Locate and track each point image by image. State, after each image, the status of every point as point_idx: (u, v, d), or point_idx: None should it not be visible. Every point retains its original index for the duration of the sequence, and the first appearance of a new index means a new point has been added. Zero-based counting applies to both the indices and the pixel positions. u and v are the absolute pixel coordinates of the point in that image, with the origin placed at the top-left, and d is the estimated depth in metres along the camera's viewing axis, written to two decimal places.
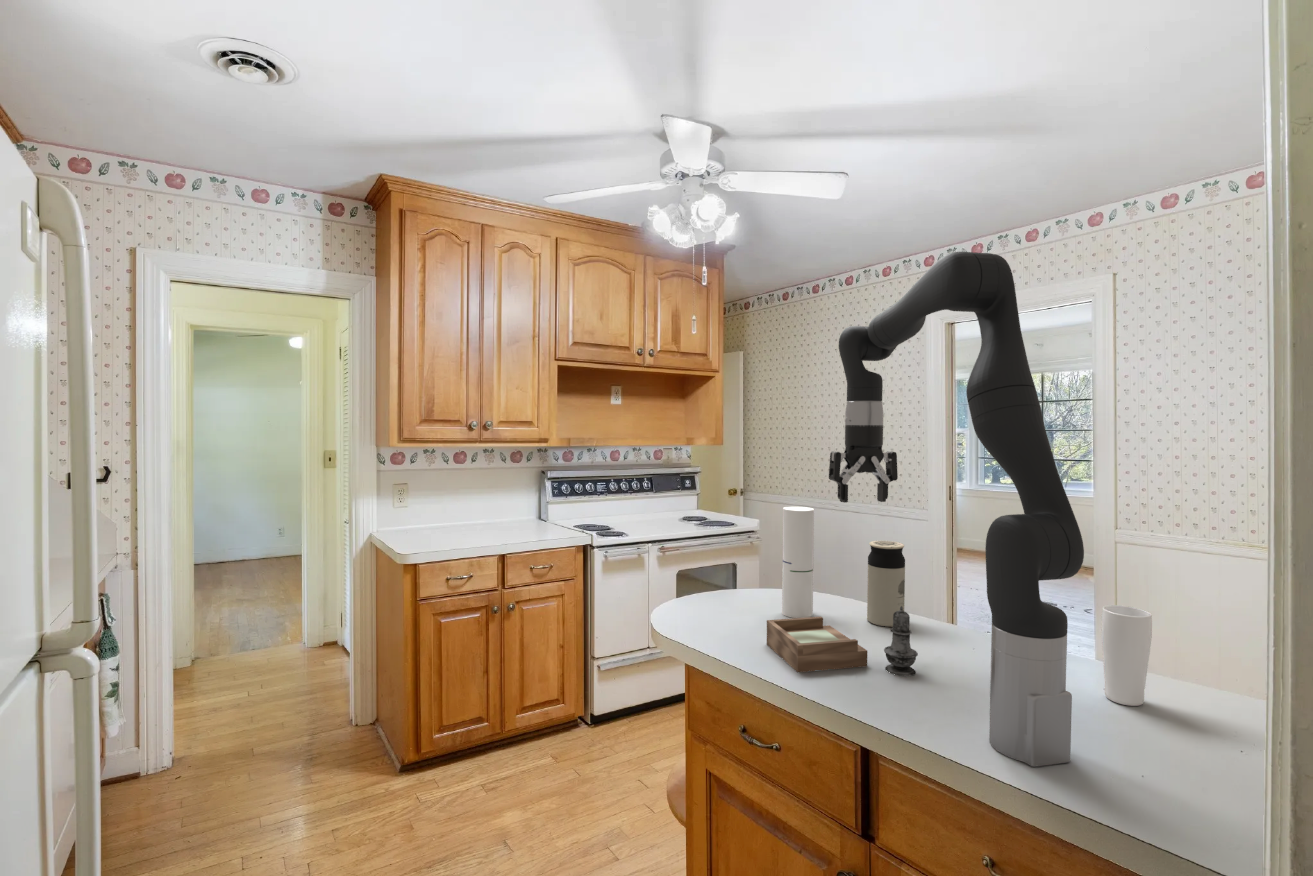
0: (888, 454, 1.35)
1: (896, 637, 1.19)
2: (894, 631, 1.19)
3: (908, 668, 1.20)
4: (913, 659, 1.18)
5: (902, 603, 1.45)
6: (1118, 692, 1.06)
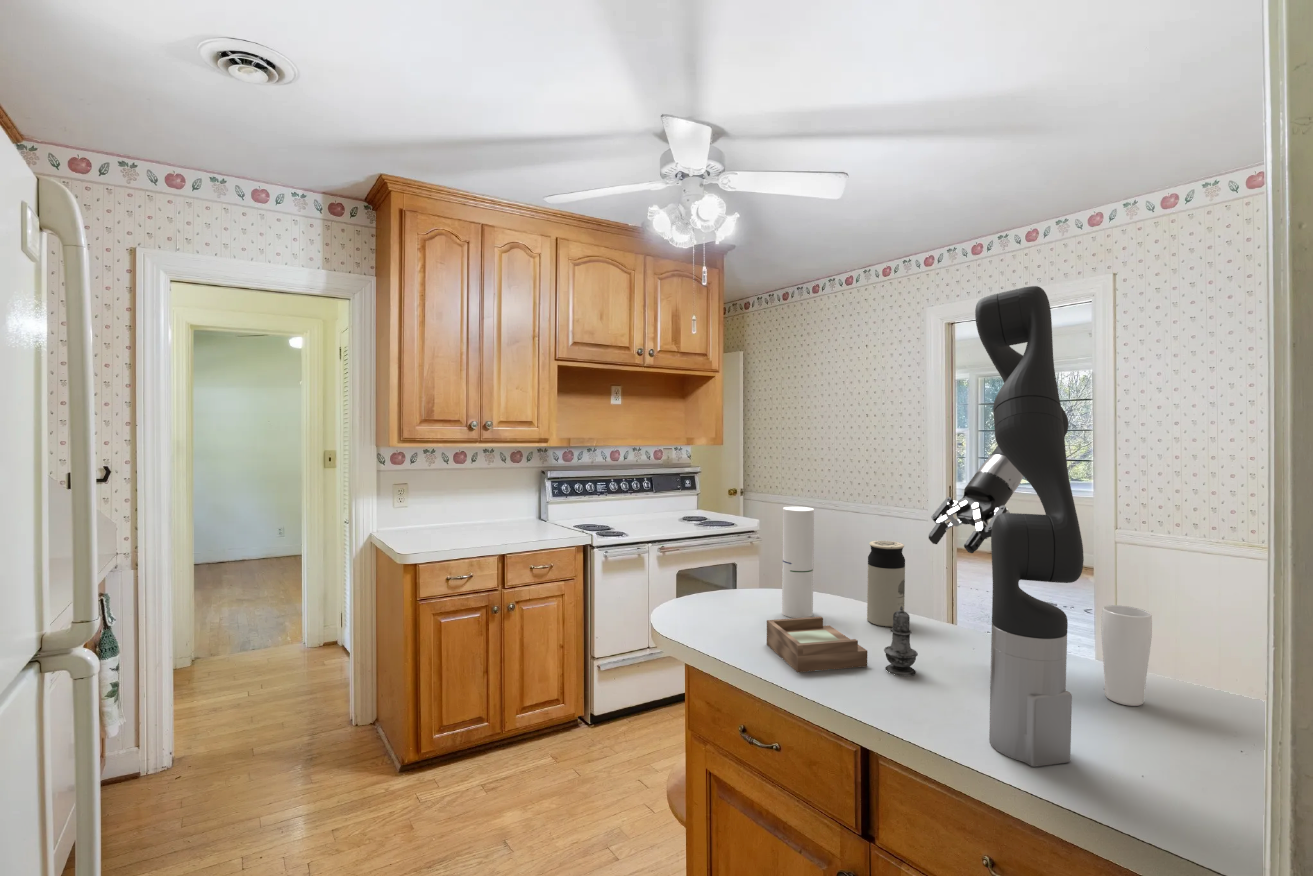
0: None
1: (896, 637, 1.19)
2: (894, 631, 1.19)
3: (908, 668, 1.20)
4: (913, 659, 1.18)
5: (902, 603, 1.45)
6: (1118, 692, 1.06)
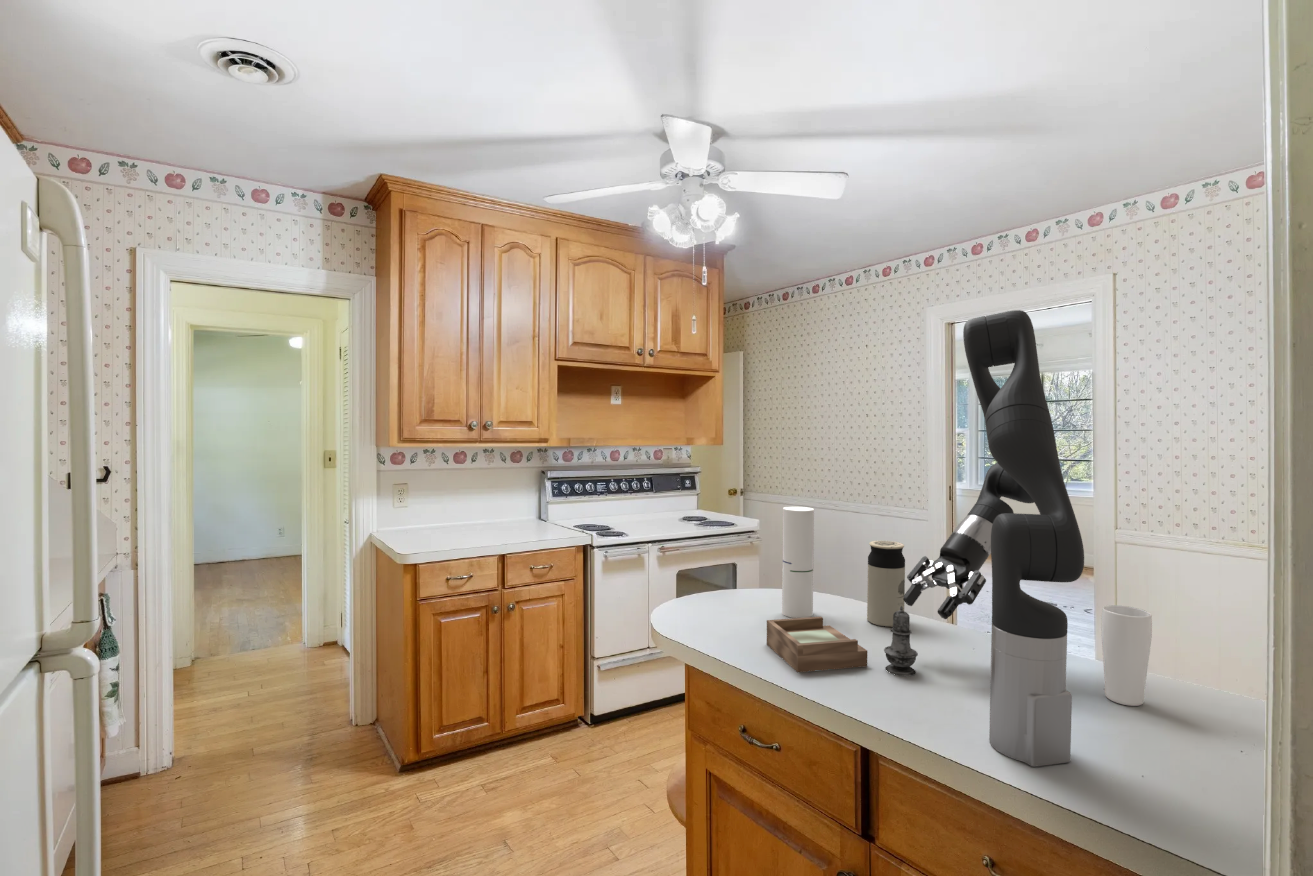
0: None
1: (896, 637, 1.19)
2: (894, 631, 1.19)
3: (908, 668, 1.20)
4: (913, 659, 1.18)
5: (902, 603, 1.45)
6: (1118, 692, 1.06)
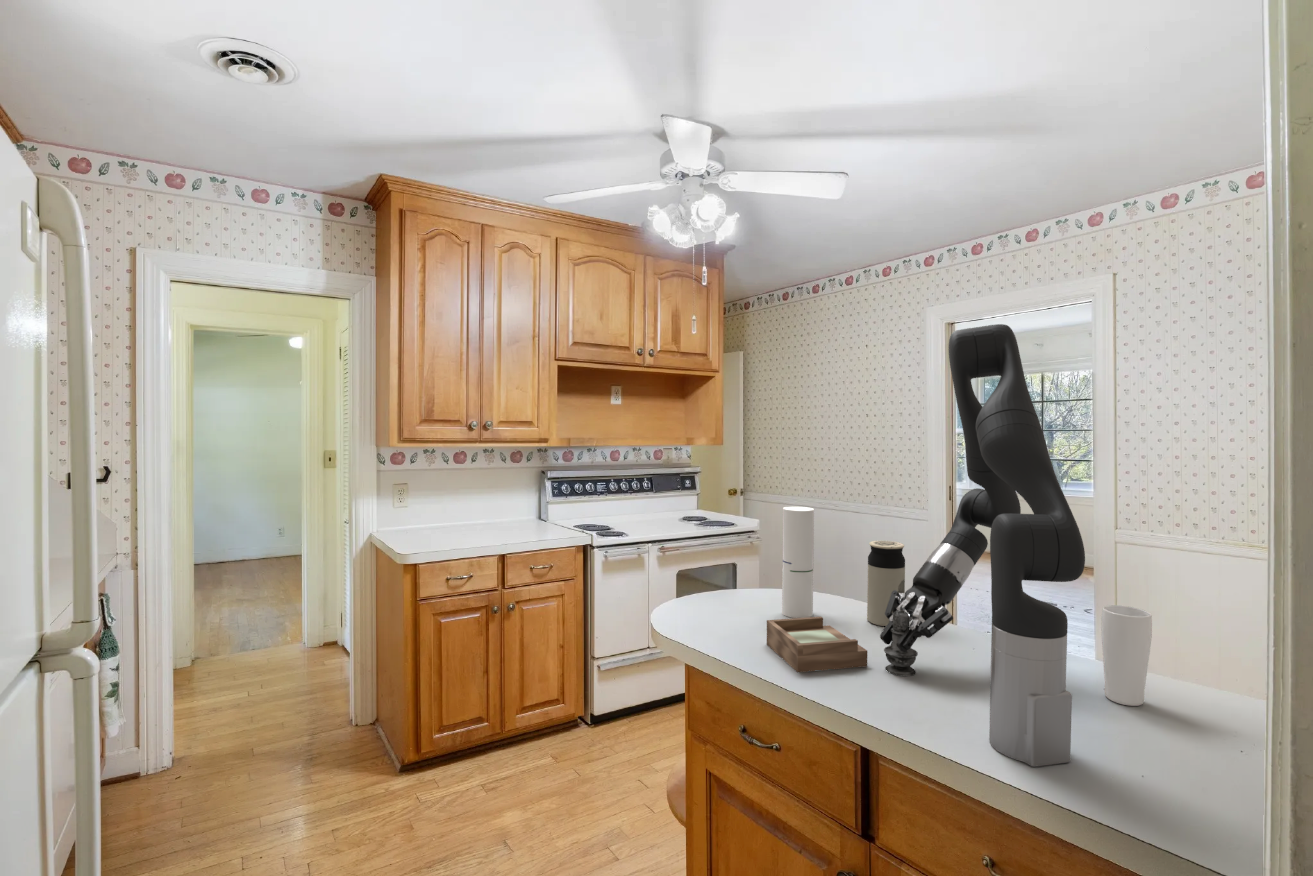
0: None
1: (896, 637, 1.19)
2: (894, 631, 1.19)
3: (908, 668, 1.20)
4: (913, 659, 1.18)
5: None
6: (1118, 692, 1.06)
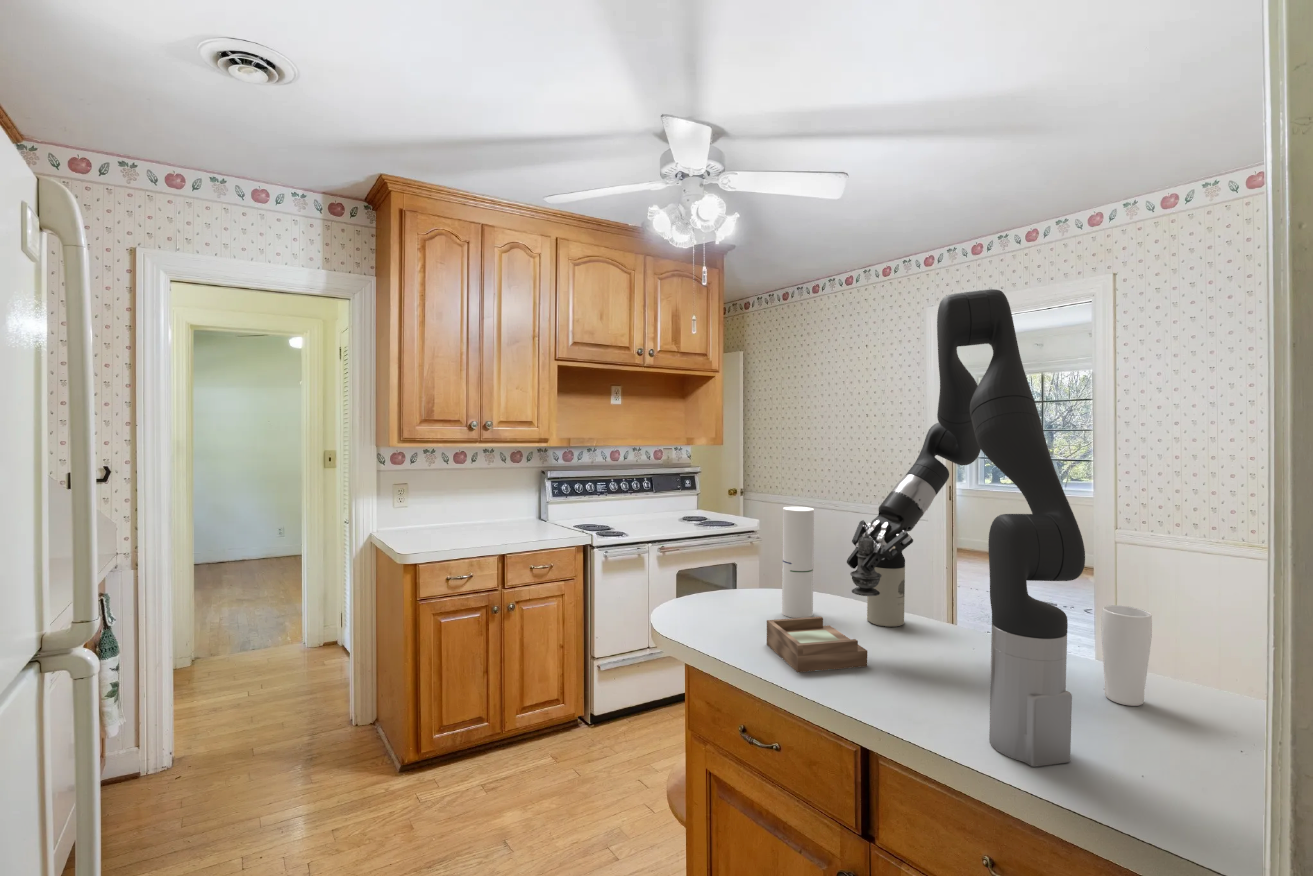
0: None
1: (861, 560, 1.27)
2: (859, 555, 1.27)
3: (873, 590, 1.28)
4: (877, 580, 1.26)
5: (902, 603, 1.45)
6: (1118, 692, 1.06)
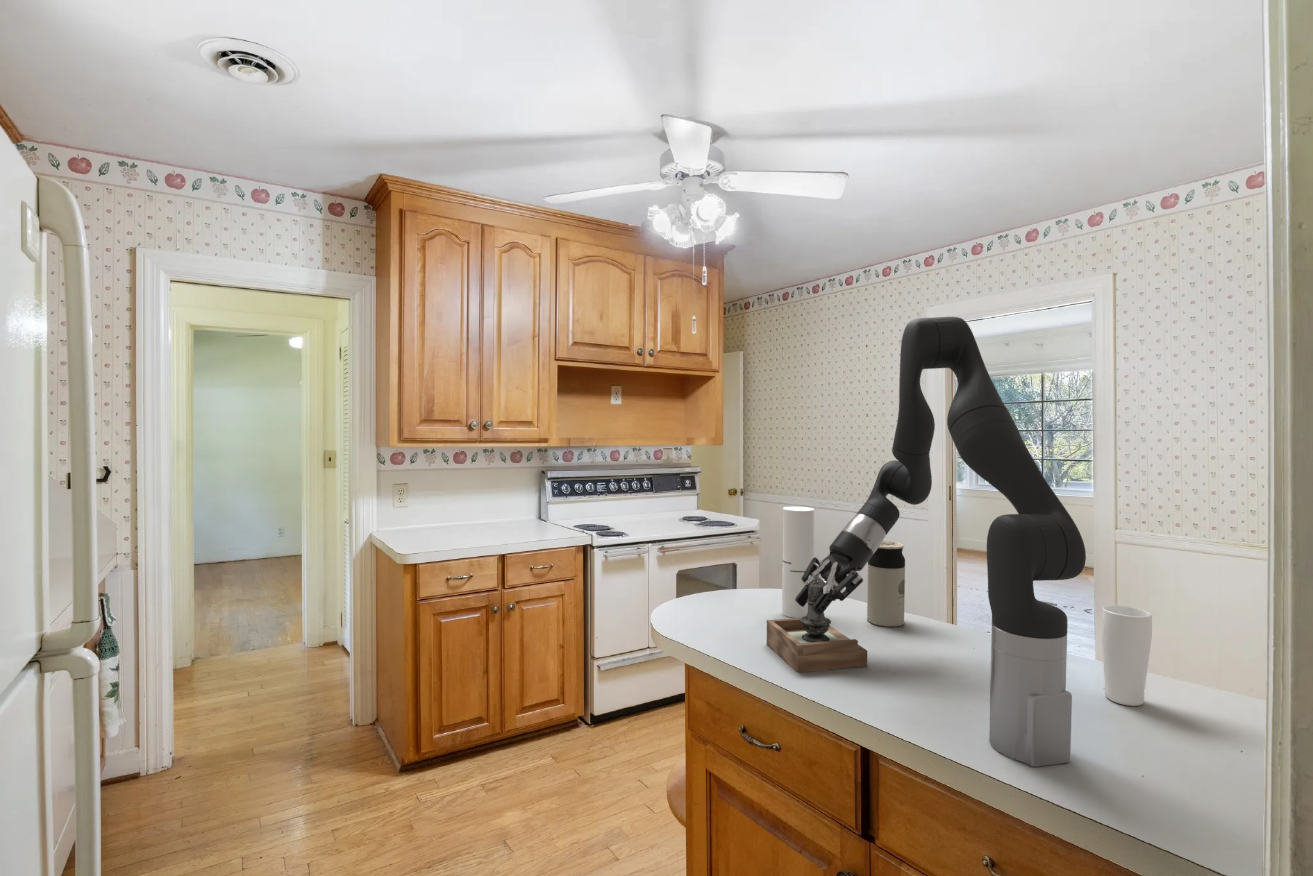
0: None
1: (811, 606, 1.27)
2: (809, 601, 1.27)
3: (822, 636, 1.28)
4: (826, 627, 1.26)
5: (902, 603, 1.45)
6: (1118, 692, 1.06)
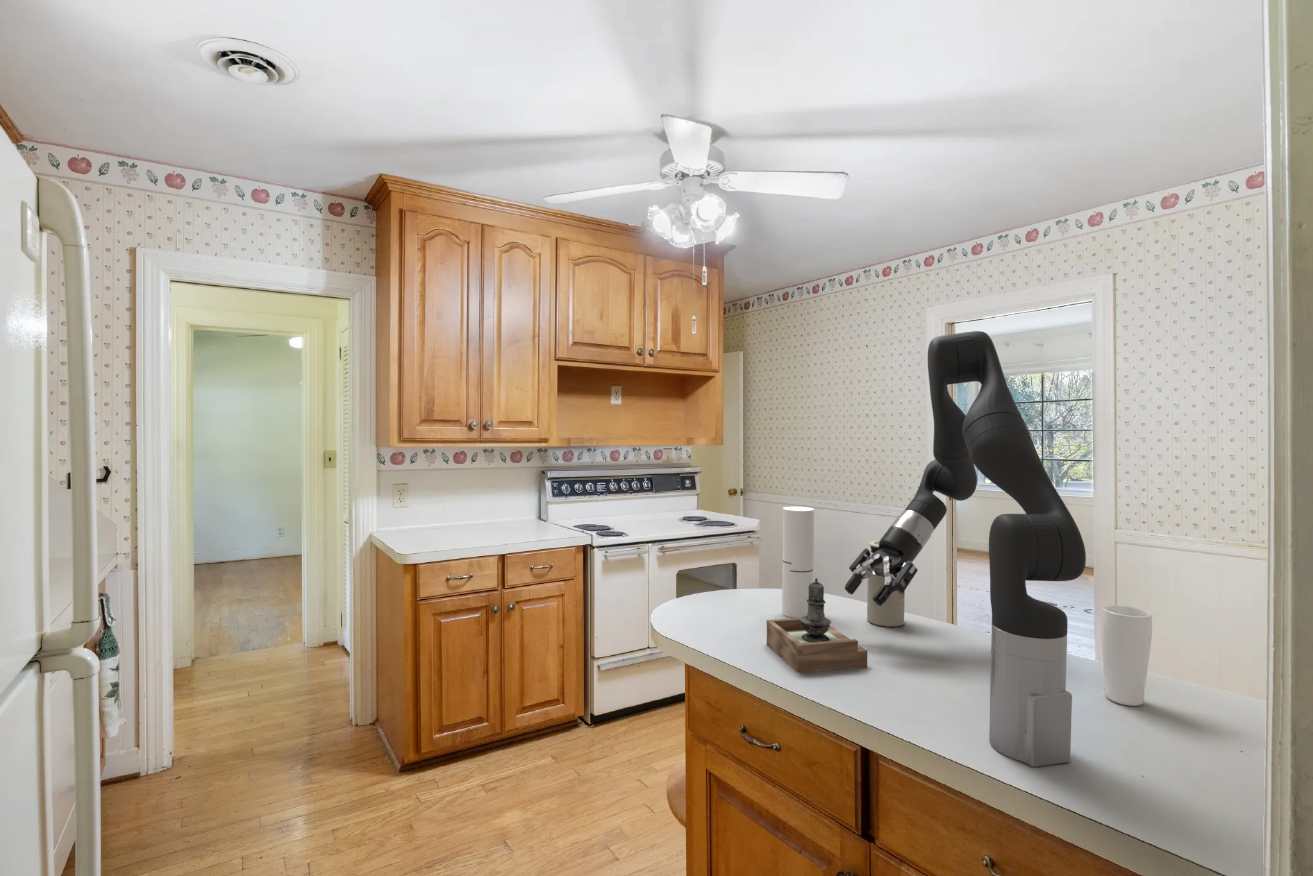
0: None
1: (811, 606, 1.27)
2: (809, 601, 1.27)
3: (823, 636, 1.27)
4: (826, 627, 1.26)
5: (902, 603, 1.45)
6: (1118, 692, 1.06)
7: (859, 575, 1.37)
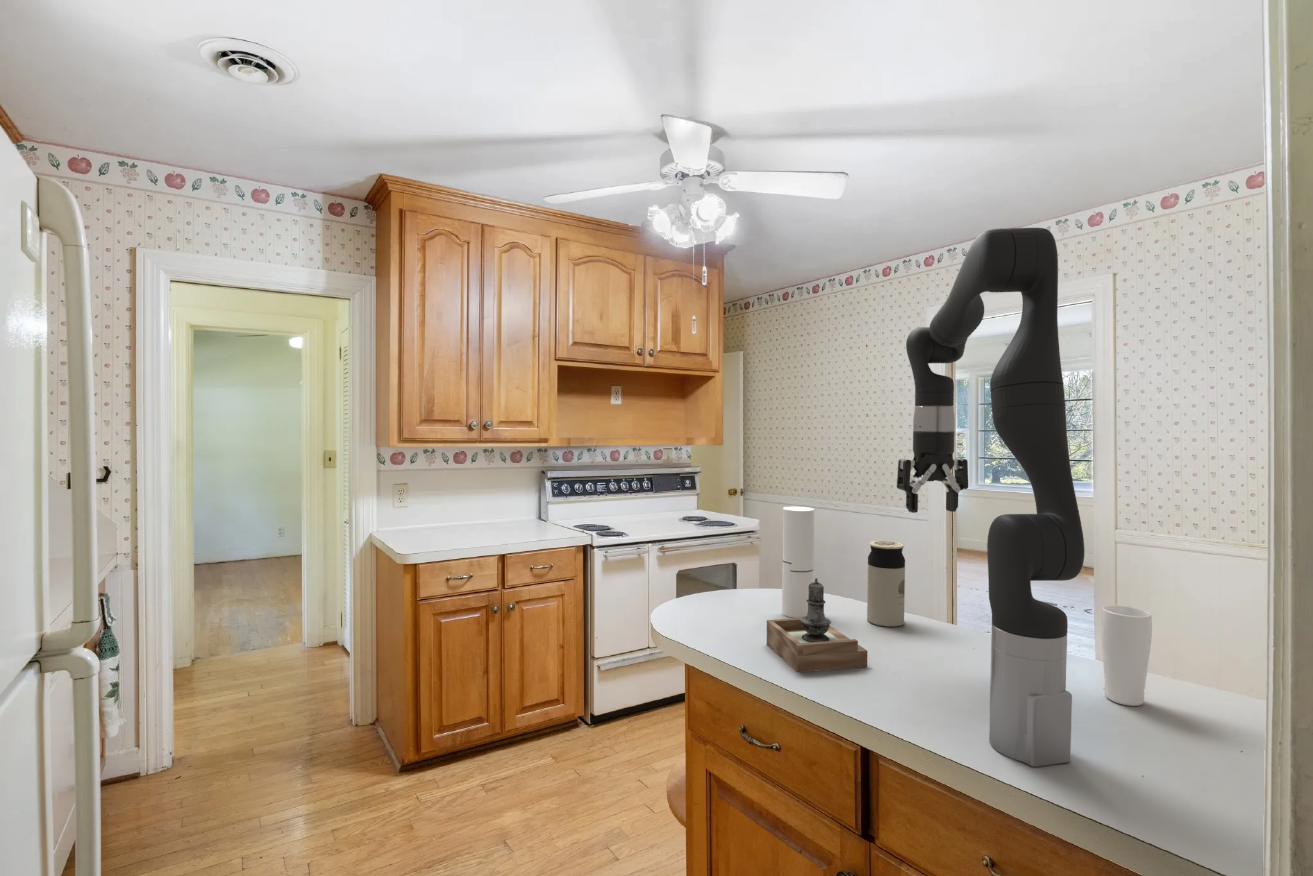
0: (958, 461, 1.29)
1: (811, 606, 1.27)
2: (809, 601, 1.27)
3: (822, 636, 1.27)
4: (826, 627, 1.26)
5: (902, 603, 1.45)
6: (1118, 692, 1.06)
7: None
